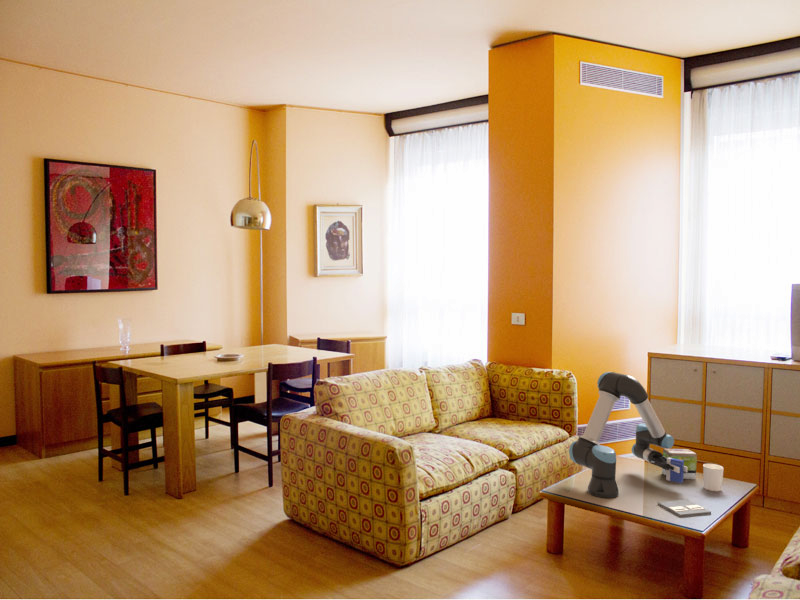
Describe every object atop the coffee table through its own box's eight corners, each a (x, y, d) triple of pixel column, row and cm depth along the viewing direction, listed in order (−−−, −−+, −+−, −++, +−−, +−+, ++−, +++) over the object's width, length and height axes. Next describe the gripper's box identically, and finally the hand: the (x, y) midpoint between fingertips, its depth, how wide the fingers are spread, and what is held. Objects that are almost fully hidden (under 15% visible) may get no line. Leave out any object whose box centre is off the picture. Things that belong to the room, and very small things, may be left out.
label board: (680, 517, 283) (680, 513, 283) (657, 504, 298) (657, 501, 298) (710, 514, 287) (711, 510, 287) (687, 501, 303) (687, 498, 303)
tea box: (669, 479, 337) (670, 453, 337) (661, 473, 347) (662, 448, 347) (696, 479, 337) (697, 453, 337) (687, 473, 347) (688, 448, 347)
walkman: (683, 482, 318) (683, 459, 317) (681, 483, 316) (682, 460, 315) (667, 478, 323) (668, 456, 323) (665, 479, 321) (666, 457, 321)
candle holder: (725, 488, 323) (726, 466, 323) (719, 493, 316) (720, 470, 316) (706, 484, 330) (706, 462, 330) (699, 488, 323) (700, 466, 323)
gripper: (666, 462, 339) (696, 476, 316) (639, 464, 335) (668, 478, 312) (666, 449, 339) (697, 461, 316) (640, 451, 334) (668, 464, 312)
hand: (682, 470), depth 314 cm, fingers open, 4 cm apart
